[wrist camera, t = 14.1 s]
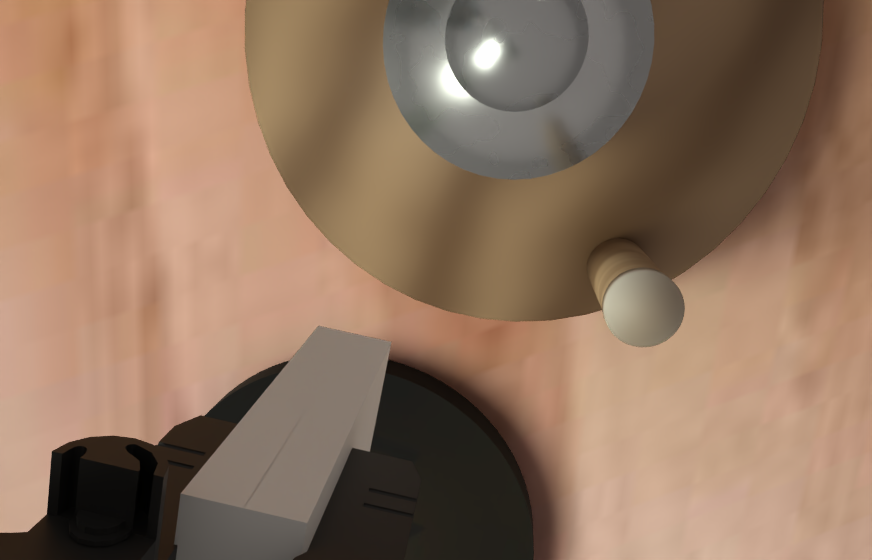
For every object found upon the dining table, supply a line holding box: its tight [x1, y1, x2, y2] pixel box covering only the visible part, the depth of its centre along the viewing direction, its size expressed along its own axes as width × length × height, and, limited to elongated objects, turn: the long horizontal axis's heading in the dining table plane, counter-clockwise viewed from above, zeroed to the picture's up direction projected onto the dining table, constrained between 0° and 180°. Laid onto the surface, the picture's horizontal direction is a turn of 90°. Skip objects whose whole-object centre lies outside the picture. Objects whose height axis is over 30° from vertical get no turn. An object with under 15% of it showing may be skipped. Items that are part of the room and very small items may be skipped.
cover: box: [383, 0, 654, 180], centre depth 26 cm, size 9×9×6 cm
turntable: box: [245, 0, 824, 347], centre depth 26 cm, size 22×22×8 cm
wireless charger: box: [205, 360, 534, 560], centre depth 36 cm, size 18×18×2 cm
